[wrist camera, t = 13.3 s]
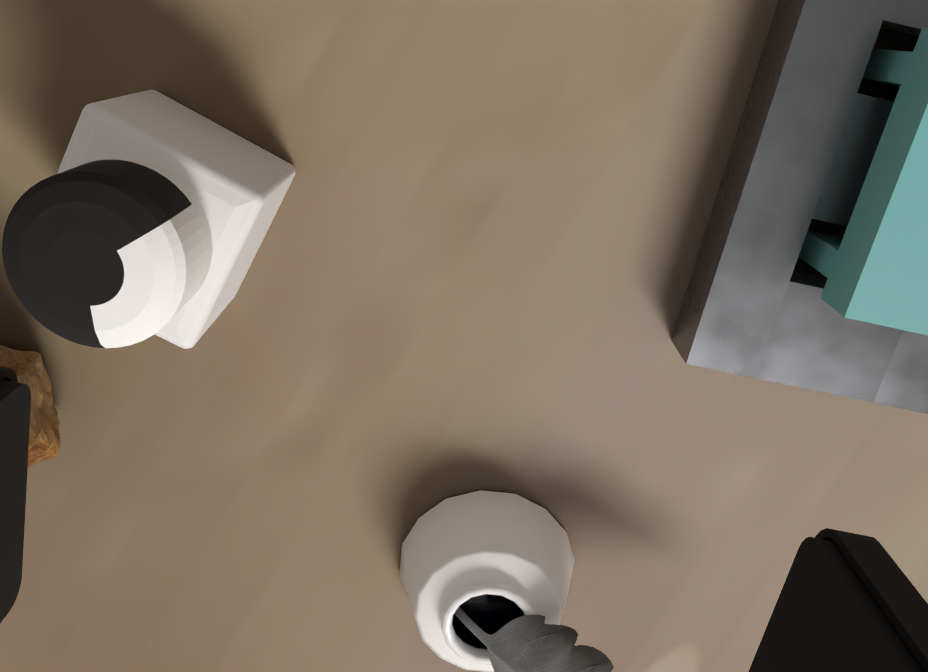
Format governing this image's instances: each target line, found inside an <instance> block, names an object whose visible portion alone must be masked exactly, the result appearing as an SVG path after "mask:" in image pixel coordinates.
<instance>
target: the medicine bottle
mask: <svg viewBox="0 0 928 672" xmlns="http://www.w3.org/2000/svg"><path fill="white" fill-rule="evenodd" d="M295 172H296V171H295V168H294V167H293V166H292V165H291V164H290V163H288V162H286V161H284V160H282V159H281V158H279V157H277V156H275V155H273V154H271V153H270V152H268V151H266V150H264V149H262V148H260V147H259V146H257V145H255V144H253V143H251V142H249V141H248V140H246V139H244V138H242V137H240V136H238V135H237V134H235V133H233V132H231V131H229V130H227V129H226V128H224V127H222V126H220V125H218V124H216V123H215V122H213V121H211V120H209V119H207V118H205V117H204V116H202V115H200V114H198V113H196V112H194V111H193V110H191V109H189V108H187V107H185V106H183V105H182V104H180V103H178V102H176V101H174V100H172V99H171V98H169V97H167V96H165V95H163V94H161V93H160V92H158V91H156V90H152V89H151V90H147V91H142V92H138V93H133V94H129V95H125V96H120V97H116V98H111V99H107V100H103V101H98V102H94V103H90V104H87V105H86V106H85V107H84V108H83V110H82V112H81V115H80V117H79V120H78V122H77V125H76V127H75V130H74V132H73V135H72V137H71V140H70V142H69V145H68V147H67V150H66V152H65V155H64V157H63V160H62V162H61V165H60V167H59V170H58V172H57V174H56V175H54V176H51V177H49V178H47V179H44V180H42V181H40V182H39V183H37V184H35V185H34V186H32V187H31V188H30V189H29V190H27V191H26V192H25V193H24V194H23V195H22V196H21V197H20V199H19V200H18V201H17V202H16V204H15V205H14V207H13V208H12V210H11V212H10V214H9V216H8V219H7V222H6V225H5V228H4V234H3V240H2V253H3V261H4V266H5V270H6V274H7V277H8V279H9V282H10V284H11V287H12V289H13V290H14V292H15V294H16V296H17V297H18V299H19V300H20V302H21V303H22V304H23V306H24V307H25V308H26V310H27V311H28V312H29V313H30V314H31V315H32V316H33V317H34V318H35V319H36V320H37V321H38V322H40V323H41V324H42V325H43V326H45V327H46V328H47V329H49V330H51V331H52V332H54V333H55V334H57V335H59V336H61V337H63V338H65V339H67V340H69V341H72V342H75V343H78V344H81V345H86V346H90V347H98V348H118V347H124V346H129V345H132V344H135V343H138V342H141V341H143V340H145V339H147V338H149V337H151V336H152V335H154V334H155V335H157V336H159V337H161V338H163V339H165V340H167V341H169V342H171V343H173V344H175V345H177V346H179V347H181V348H184V349H188V348H191V347H193V346H194V345H195V344H196V342H197V341H198V340H199V339H200V338H201V336H202V335H203V334H204V333H205V332H206V330H207V329H208V328H209V327H210V326H211V324H212V323H213V322H214V321H215V320H216V318H217V317H218V316H219V315H220V314H221V312H222V311H223V310H224V309H225V308H226V306H227V305H228V304H229V303H230V302H231V300H232V299H233V298H234V297H235V295H236V293H237V291H238V289H239V287H240V285H241V283H242V281H243V279H244V277H245V275H246V273H247V271H248V269H249V267H250V265H251V263H252V261H253V259H254V257H255V255H256V253H257V251H258V249H259V247H260V245H261V243H262V241H263V239H264V237H265V235H266V233H267V231H268V229H269V227H270V225H271V223H272V221H273V219H274V217H275V215H276V212H277V210H278V208H279V206H280V204H281V202H282V200H283V198H284V196H285V194H286V192H287V190H288V188H289V186H290V184H291V182H292V180H293V178H294V176H295Z"/></svg>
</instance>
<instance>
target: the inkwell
mask: <svg viewBox="0 0 928 672" xmlns="http://www.w3.org/2000/svg"><path fill="white" fill-rule="evenodd" d="M574 563H575V561H574V557H573V554H572V550H571V546H570V543H569V539H568V535H567V532H566V531H565V530H564V529H563V528H562V527H561V526H560V525H559V523H558V522H557V521H556V520H555V519H554V518H553V517H552V516H551V514H550V513H549V512H548V511H547V510H546V509H545V508H543V507H541V506H539V505H537V504H535V503H533V502H531V501H529V500H527V499H525V498H523V497H521V496H519V495H517V494H513V493H502V492H492V491H482V490H480V491H475V492H471V493H467V494H463V495H459V496H455V497H451V498H446V499H445V500H443V501H442V502H440V503H439V504H438V505H436V506H435V507H433V508H432V509H431V510H429V511H428V512H426V513H425V514H424V515H422V516H421V517H419V518H418V520H417V521H416V523H415V525H414V526H413V528H412V529H411V531H410V533H409V534H408V536H407V537H406V539H405V540H404V542H403V544H402V551H401V561H400V571H399V574H400V577H401V580H402V583H403V587H404V590H405V593H406V596H407V599H408V602H409V605H410V607H411V610H412V613H413V616H414V619H415V621H416V624H417V627H418V630H419V632H420V635H421V638H422V640H423V641H424V642H425V643H426V644H427V645H428V646H429V647H430V648H431V649H432V650H433V651H434V652H435V653H436V654H437V655H438V656H439V657H440V658H441V659H443V660H445V661H447V662H450V663H452V664H454V665H456V666H458V667H460V668H462V669H465V670H473V671H484V672H611V671H612V670H613V665H612V663H611V661H610V660H609V659H608V657H607V656H606V655H605V654H603V653H602V652H601V651H599V650H597V649H595V648H593V647H590V646H585V645H578V646H574V644H575V642H576V640H577V636H578V634H577V632H576V630H574V629H572V628H570V627H567V626H563V625H561V622H562V619H563V615H564V611H565V607H566V603H567V599H568V595H569V591H570V585H571V579H572V574H573V568H574Z"/></svg>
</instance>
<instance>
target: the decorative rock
mask: <svg viewBox="0 0 928 672" xmlns="http://www.w3.org/2000/svg"><path fill="white" fill-rule="evenodd" d="M0 367H5V368H10V369H13V370H14V372H15V373H16V376H17V379H18V383H22V384H27V385H28V386H29V388H30V392H31V410H30V428H29V447H28V466H31V465H33V464H35V463H37V462H39V461H42V460H46V459H48V458H51V457H54V456H56V455H57V453H58V451H59V450H60V434H59V429H58V428H59V424H60V423H59V420H58V416H57V411H56V409H55V405H54V401H53V394H52V387H51V381H50V378H49V376H48V373H47V371H46V369H45V367H44V366H43V362H42V358H41V354H40V353H38V352H34V351H20V350H14V349H11V348H9V347H5V346H2V345H0Z"/></svg>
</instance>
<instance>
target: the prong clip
mask: <svg viewBox="0 0 928 672" xmlns="http://www.w3.org/2000/svg"><path fill="white" fill-rule="evenodd" d="M863 78H864V79H868V80H872V81H876V82H881V83H885V84H889V85H893V86H897V87H900V88H899V91H898V94H897V96H896V99H895V102H894V104H893V107H892V110H891V112H890V115H889V117H888V120H887V123H886V125H885V128H884V131H883V133H882V136H881V139H880V141H879V144H878V147H877V149H876V152H875V155H874V157H873V160H872V163H871V165H870V168H869V171H868V173H867V176H866V178H865V181H864V184H863V186H862V189H861V192H860V194H859V197H858V200H857V202H856V205H855V208H854V210H853V213H852V216H851V218H850V221H849V224H848V226H847V229H846V232H845V234H844V237H843V238H842V237H838V236H833V235H829V234H824V233H820V232H815V231H811V230H808V231H807V234H806V237H805V240H804V242H803V245H802V248H801V251H800V254H799V256H798V257H799V258H801V259H802V260H803V261H805V262H806V263H808V264H809V265H810V266H812V267H813V268H815V269H816V270H817V271H819V272H820V273H821V274H823V275H824V276H826V277H827V278H828V279H827V282H826V285H825V287H824V290H823V293H822V295H821V299H822V300H823V301H824V302H826V303H827V304H828V305H829V306H831V307H832V308H833V309H835V310H836V311H837V312H838V313H840V314H841V315H842V316H843V317H845V318H850V319H854V320H859V321H863V322H868V323H873V324H877V325H882V326H887V327H891V328H896V329H900V330H905V331H910V332H914V333H919V334H923V335H928V28H923V27H922V30H921V33H920V35H919V38H918V41H917V43H916V46H915V48H914V51H913V52H908V51H895V50H882V49H873V50H872V53H871V55H870V58H869V61H868V64H867V67H866V69H865V72H864V75H863Z"/></svg>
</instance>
